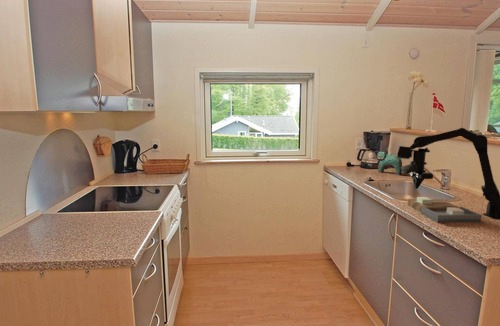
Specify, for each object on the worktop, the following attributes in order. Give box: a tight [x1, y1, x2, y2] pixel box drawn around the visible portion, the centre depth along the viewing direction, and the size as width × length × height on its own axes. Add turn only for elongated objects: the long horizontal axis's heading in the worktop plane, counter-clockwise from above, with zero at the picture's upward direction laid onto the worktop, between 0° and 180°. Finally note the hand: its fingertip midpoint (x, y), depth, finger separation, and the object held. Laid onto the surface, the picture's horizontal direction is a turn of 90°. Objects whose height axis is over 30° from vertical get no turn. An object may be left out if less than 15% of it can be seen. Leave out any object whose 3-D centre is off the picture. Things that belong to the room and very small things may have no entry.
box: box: [420, 206, 483, 224], centre depth 148 cm, size 13×20×4 cm, turn 92°
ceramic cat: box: [376, 148, 403, 176], centre depth 254 cm, size 20×6×20 cm, turn 40°
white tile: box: [447, 207, 464, 214], centre depth 149 cm, size 5×5×2 cm
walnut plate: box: [407, 199, 460, 213], centre depth 162 cm, size 14×18×3 cm
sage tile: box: [416, 196, 433, 204], centre depth 162 cm, size 5×5×2 cm
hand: (416, 188), depth 170 cm, fingers closed
